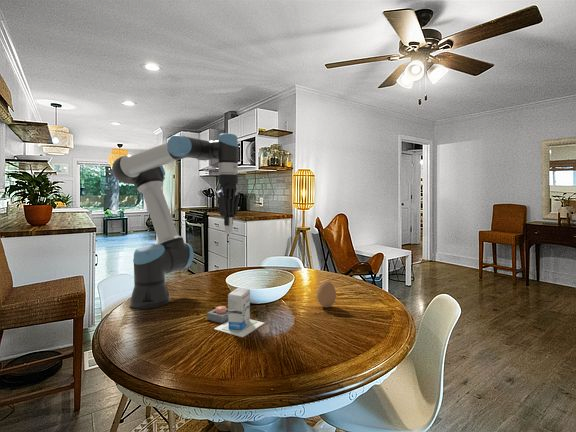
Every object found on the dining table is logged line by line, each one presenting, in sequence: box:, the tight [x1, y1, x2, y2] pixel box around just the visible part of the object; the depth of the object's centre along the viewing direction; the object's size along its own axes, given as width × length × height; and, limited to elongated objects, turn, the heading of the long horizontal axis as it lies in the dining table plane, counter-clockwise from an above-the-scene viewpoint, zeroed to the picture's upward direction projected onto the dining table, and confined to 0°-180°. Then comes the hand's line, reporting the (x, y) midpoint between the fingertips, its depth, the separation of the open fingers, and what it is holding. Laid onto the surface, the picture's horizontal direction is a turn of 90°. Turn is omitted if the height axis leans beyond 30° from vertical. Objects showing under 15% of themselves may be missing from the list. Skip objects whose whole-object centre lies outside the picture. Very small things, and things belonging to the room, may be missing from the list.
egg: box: [316, 280, 337, 309], centre depth 132 cm, size 8×8×11 cm
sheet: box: [213, 318, 266, 338], centre depth 113 cm, size 12×13×1 cm
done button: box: [215, 305, 227, 315], centre depth 120 cm, size 4×4×2 cm
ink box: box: [227, 287, 251, 330], centre depth 113 cm, size 9×5×12 cm, turn 166°
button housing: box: [206, 307, 228, 324], centre depth 120 cm, size 7×7×2 cm
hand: (228, 233), depth 132 cm, fingers closed
